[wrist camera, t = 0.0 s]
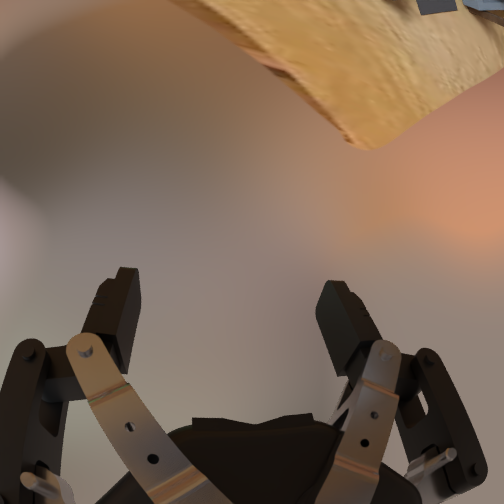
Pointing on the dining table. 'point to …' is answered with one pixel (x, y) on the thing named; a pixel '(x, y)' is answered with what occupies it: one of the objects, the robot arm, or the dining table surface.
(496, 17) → the small brown wooden table
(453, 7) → the mat
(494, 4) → the sled frame
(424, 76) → the dining table surface
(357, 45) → the dining table surface
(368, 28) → the dining table surface
